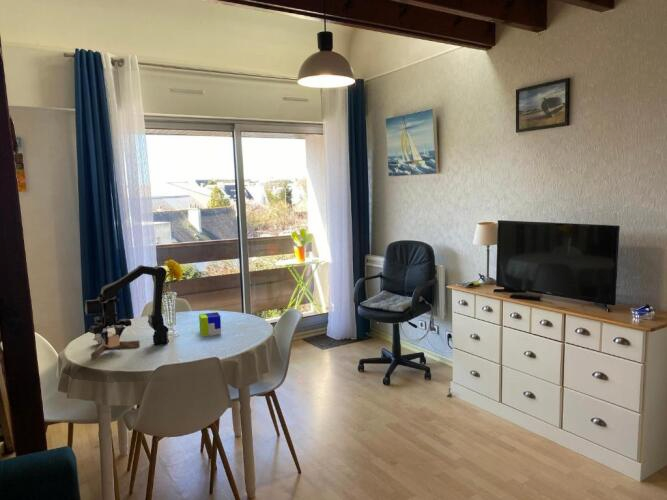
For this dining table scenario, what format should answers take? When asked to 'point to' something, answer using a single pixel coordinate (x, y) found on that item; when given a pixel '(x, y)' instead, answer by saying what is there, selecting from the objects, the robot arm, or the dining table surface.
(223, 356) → the dining table surface
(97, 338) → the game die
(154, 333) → the robot arm
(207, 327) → the puzzle toy
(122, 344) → the arena
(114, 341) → the cube
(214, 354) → the dining table surface
